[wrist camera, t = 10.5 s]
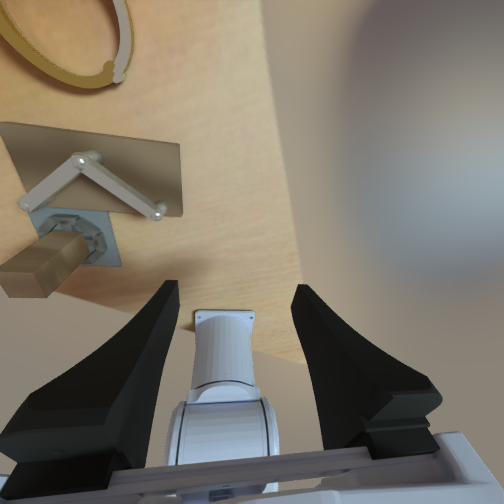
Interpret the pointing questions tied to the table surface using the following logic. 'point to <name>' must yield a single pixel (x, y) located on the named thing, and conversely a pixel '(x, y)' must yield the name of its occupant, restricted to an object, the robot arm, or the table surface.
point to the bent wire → (94, 170)
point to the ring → (113, 70)
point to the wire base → (115, 160)
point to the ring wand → (51, 257)
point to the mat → (94, 217)
